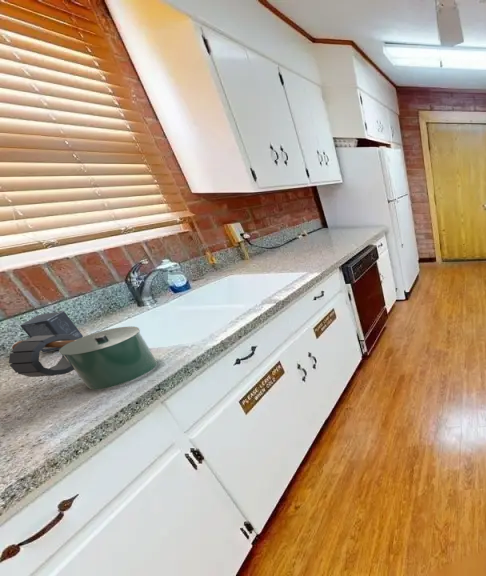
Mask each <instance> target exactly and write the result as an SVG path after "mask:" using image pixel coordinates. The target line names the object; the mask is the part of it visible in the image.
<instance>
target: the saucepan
mask: <svg viewBox="0 0 486 576" xmlns="http://www.w3.org/2000/svg"><path fill="white" fill-rule="evenodd" d="M24 340H25V339H23V340H18V341H15V342H14V343H13V344H12V345H11V350H13V349H14V348H15V347H16V346H17V345H18V344H19V343H22V342H21V341H24ZM45 348H61V349H58V353H59V354H60V355H61V356H62V355H64V357H65V358H66V359H67V361H68V362H69V363H70V365H71V366H72V367H73V369H74V370H73V371H75V373H76V374H77V375H78V377H79V378H80V379H81V381H82V382H83V383H84V384H85V386H86V387H87V388H88V389H90V390H94V391H96V390H103V389H104V390H105V389H108V388H113V387H116V386H120V385H122V384H126V383H128V382H131V381H133V380H135V379H137V378H140V377H142V376H144V375H145V374H147V373H149V372H150V371H152V370H153V369H155V368H156V366H157V365H158V360H157V359H156V357H155V355H154V354H153V352H152V351H151V349H150V347H149V345H148V344H147V342H146V340H145V339H144V337H143V335H142V334H141V329H140V328H139V327H137V326H120V327H114V328H109V329H105V330H101V331H97V332H93V333H91V334H87V335H83V337H82V338H79V339H77V340H69V341H53V342H51V343H48V344H46V345H45V347H44V348H43V349H45Z"/></svg>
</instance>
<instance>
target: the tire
mask: <svg viewBox="0 0 486 576" xmlns="http://www.w3.org/2000/svg"><path fill="white" fill-rule="evenodd" d="M77 339H79V337H76V336H74V335H70V334H60V335H40V336H33V337H31V338H30V337H28V338H26V339H23V340H24V341H23V340H20V341H21V342H22V343H19V344H18V345H17V346H16V347H15V348H14V349H11V351H10V353H9V356H8V357H9V358H8V364H9V366H10V367H11V369H12V370H13V371H14V372H15V373H16V374H18V375H22V376H24V377H25V376H26V377H29V378H37V377H54V376H60V375H66V374H69V373H71V372H73V371H75V370H74V369H73V367H72V366H71V365H70V363H69V362H68V361H67V359H66V358H65V357H64V355H61V358H60V359H59V360H58V361H57V362H56V364H55V365H53V366H51V367H49V368H48V367H45V366H44V365H43V364H42V362H40V353H41V352H42V351H41V350H42V349H43V348H44V347H45V345H46V344H48V343H51V342H53V341H69V340H77Z"/></svg>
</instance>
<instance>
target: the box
mask: <svg viewBox="0 0 486 576" xmlns="http://www.w3.org/2000/svg"><path fill="white" fill-rule="evenodd" d="M19 327H20V328H22V330H23V331H24V332H25V333H26V334H27V336H28V338H31V337H33V336H40V335H60V334H70V335H74V336H76V337H79V338H82V337H84V335H83V334H82V333H81V331H80V330H79V329H78V328H77V325H75V323H74V322H73V321H72V320H71V318H70V316H68V315H67V313H66V312H65V310H59V311H53V312H48V313H43V314H38V315H35V316H34V317H32V318H31V319H29V320H27V321H25V322H23V323H22V324H21V323H20V325H19ZM60 349H61V348H45V349H42V350H41V351H40V352H42V353H49V352H52V351H59V350H60Z"/></svg>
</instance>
